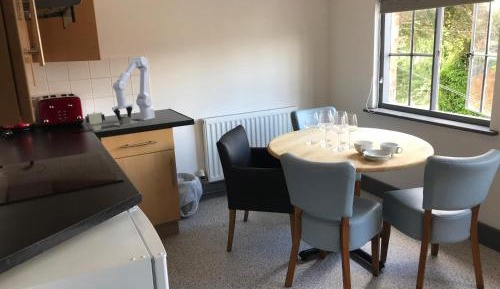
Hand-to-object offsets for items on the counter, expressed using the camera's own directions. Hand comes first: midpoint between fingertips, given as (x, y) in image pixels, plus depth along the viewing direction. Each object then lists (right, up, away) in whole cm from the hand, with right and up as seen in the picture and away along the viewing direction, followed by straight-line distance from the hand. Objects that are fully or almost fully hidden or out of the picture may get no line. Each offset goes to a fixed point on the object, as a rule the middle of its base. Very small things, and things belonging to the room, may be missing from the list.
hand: (124, 119), depth 278 cm
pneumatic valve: (-15, -8, -10) cm, 20 cm away
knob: (0, -3, +1) cm, 3 cm away
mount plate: (0, -3, +3) cm, 4 cm away
